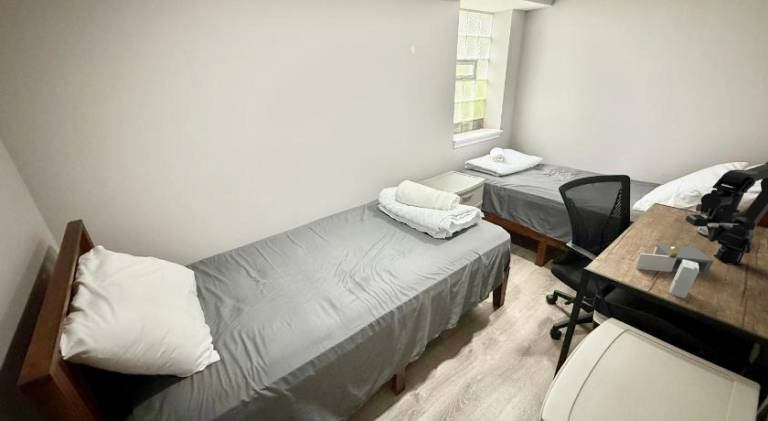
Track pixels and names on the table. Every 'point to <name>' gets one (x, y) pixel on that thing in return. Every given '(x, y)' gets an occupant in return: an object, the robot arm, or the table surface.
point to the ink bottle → (703, 231)
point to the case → (687, 257)
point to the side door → (658, 261)
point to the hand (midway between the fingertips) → (711, 241)
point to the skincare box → (684, 278)
